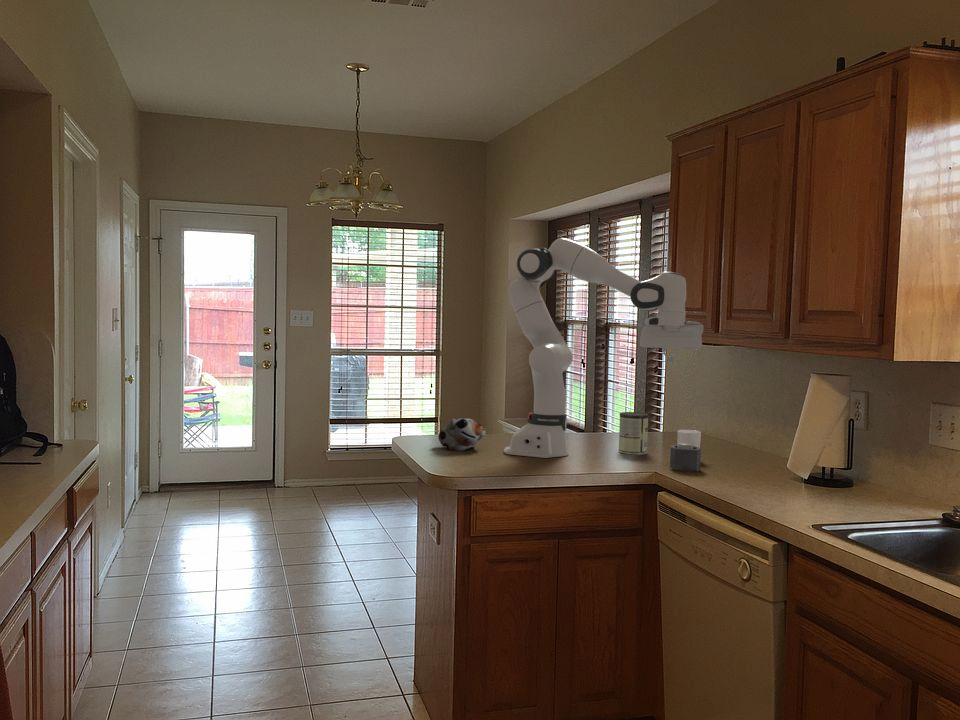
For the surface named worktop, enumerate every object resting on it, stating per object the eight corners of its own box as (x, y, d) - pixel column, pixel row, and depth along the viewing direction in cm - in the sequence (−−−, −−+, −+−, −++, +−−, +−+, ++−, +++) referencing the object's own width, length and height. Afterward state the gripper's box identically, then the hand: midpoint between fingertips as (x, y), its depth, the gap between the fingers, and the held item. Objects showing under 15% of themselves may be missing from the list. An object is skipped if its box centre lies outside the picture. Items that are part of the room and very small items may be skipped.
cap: (677, 457, 271) (677, 445, 270) (676, 454, 275) (677, 442, 275) (693, 458, 270) (693, 446, 269) (692, 455, 274) (692, 443, 274)
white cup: (700, 462, 285) (701, 433, 285) (676, 461, 287) (677, 432, 286) (699, 458, 293) (700, 430, 293) (675, 457, 295) (677, 429, 294)
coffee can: (617, 449, 308) (618, 411, 307) (645, 450, 307) (647, 412, 306) (619, 454, 298) (620, 414, 297) (648, 455, 297) (650, 415, 296)
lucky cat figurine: (474, 444, 307) (488, 414, 302) (476, 463, 296) (491, 431, 291) (435, 433, 304) (449, 401, 298) (436, 451, 293) (451, 419, 288)
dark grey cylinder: (670, 470, 269) (671, 448, 269) (669, 465, 278) (670, 444, 278) (700, 472, 267) (701, 450, 267) (698, 467, 276) (699, 446, 276)
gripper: (703, 321, 280) (701, 362, 281) (640, 319, 284) (639, 360, 285) (704, 321, 274) (702, 363, 275) (640, 319, 278) (639, 361, 278)
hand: (669, 362), depth 280 cm, fingers closed
